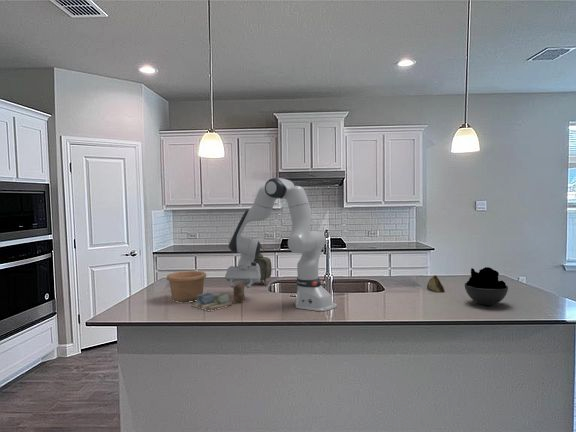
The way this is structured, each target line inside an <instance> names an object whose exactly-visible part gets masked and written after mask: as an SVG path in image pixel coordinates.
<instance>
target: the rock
mask: <svg viewBox="0 0 576 432" xmlns="http://www.w3.org/2000/svg"><path fill="white" fill-rule="evenodd" d="M426 289H427V290H430V291H431V292H436V293H446V290H445V287H444V285H443V284H442V283H441V280H440V279H439V278H438V276H437V275H436V274H434V275H433V276H432V277H431V278H430V279H429V280H428V282H427V284H426Z"/></svg>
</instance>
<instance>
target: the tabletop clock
mask: <svg viewBox="0 0 576 432" xmlns="http://www.w3.org/2000/svg"><path fill="white" fill-rule="evenodd" d="M260 249H262V251H260V253H259V256H258V257H257V258H255V259H254V262H255V263H258V264H259V266H260V273H261V278H260V281H259V282H260V284H263V283H264V286H267V285H268V283H267V282H266V280H267V279H269V278H271V277H272V270H273V269H272V268H273V267H272V261H271V258H270V257H266V256H264V255H263V253H264V252H265V248H264V247H262V246H261V248H260ZM263 281H264V282H263Z"/></svg>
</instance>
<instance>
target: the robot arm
mask: <svg viewBox="0 0 576 432" xmlns="http://www.w3.org/2000/svg"><path fill="white" fill-rule="evenodd" d="M278 199H280V200H281V199H282V200H286V202H287V206H288V210H289V215H290V219H291V234H290V236H289V237H288V240H287V246H288V249H289V251H291V252H292V253H294V254H301V256H300V258H299V261H298V262H297V265H296V267H297V278H296V285H297V290H296V299H295V303H294V305H295V308H296V309H301V310H302V309H303V310H307V311H308V310H309V311H315V312H326V311H330V310H333V309H335V308H336V307H338V305H337V303H335V302H333V298H332V295H331V293H330V292H329V291H327V289H325V288H324V286H323V285H322V283H323V279H322V280H320V278H319V277H320V276H319V263H320V258H321V253H322V250H323V248H324V246H325V245H326V243H327V242H326V241H327V239H326V235H325V233H323V232H321V231H319V230H310V224H311V222H312V220H313V215H312V211H311V206H310V202H309V199H308V196H307V193H306V191H305V188H303V186H300V185H297V183H296V182H295V181H293V180H290V179H286V178H283V177H282V178H281V177H279V178H277V177H273V178H269V179H268V180H267V181H266V182H265V185H263V186H260V188H259V190H258V191H257V193H256V195H255V199H254V201H253V204H252V206H251V207H250V208H249V209H246V210H245V211H244V213H243V215H242V216H241V217H240V220H239V222H238V224H237V226H236V228H235V230H234V232H233V234H232V235H231V237H230V238H229V241H228V244H227V245H228V246H227V247H228V249H229V250H230V252H231V253H239V254H240V258H239V260H238V263H237V266H236V265H235V266H234V265H232V266H229V267H227V270H226V273H225V275H224V278H225V281H227V282H230V288H234V286H236V285H235V283H234V282H247V284H246V285H247V286H246V288H247V289H250V288H251V286H252V285H253V284H254V283H259V282H261V280H260V278H261V273H260V266H259V264H258V263H255V262H254V259H255V258H257V257H258V256H259V253H260V252H261V249H262V248H261V247H262V245H261V242H260V241H259V240H257V239H254V238H251V237H250V238H249V237H246V236H244V235H243V236H242V234H243V231H244V229H245V228H246V226H247V224H248V223H251V222H256V221H257V222H258V221H264V220H266V219H268V218H270V216H271V214H272V211H273V208H274V204H275V202H276V201H277V200H278ZM248 282H249V283H248Z"/></svg>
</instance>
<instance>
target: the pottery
mask: <svg viewBox="0 0 576 432" xmlns="http://www.w3.org/2000/svg"><path fill="white" fill-rule="evenodd" d="M206 277H207V273H206V272H204V271H198V270H186V271H185V270H183V271H178V272H177V271H176V272H173V273H169V274H167V275H166V280H167V281H168V282H169V286H170V293H171V298H172V299H173V300H174V301H178V302H189V301H195V300H197V295H200V294H204V284H205V278H206ZM172 299H171V300H172ZM173 300H172V301H173ZM174 301H173V302H174ZM195 302H196V301H195Z"/></svg>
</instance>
